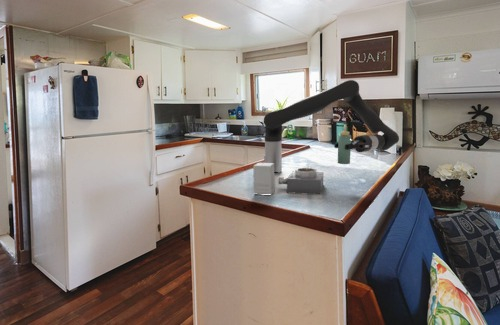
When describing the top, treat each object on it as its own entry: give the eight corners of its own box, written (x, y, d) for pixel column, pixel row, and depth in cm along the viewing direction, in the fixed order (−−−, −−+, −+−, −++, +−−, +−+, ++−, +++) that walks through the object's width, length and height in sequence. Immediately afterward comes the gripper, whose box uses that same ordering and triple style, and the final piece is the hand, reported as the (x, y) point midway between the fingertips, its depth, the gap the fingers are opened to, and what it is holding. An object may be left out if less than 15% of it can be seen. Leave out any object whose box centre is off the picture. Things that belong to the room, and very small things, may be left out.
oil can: (337, 163, 134) (338, 125, 131) (337, 161, 139) (339, 124, 136) (349, 164, 132) (351, 125, 129) (349, 162, 137) (351, 124, 134)
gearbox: (275, 191, 133) (275, 172, 132) (282, 183, 148) (282, 165, 147) (320, 194, 128) (320, 174, 126) (323, 185, 143) (323, 166, 141)
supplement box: (275, 191, 134) (275, 162, 132) (270, 196, 127) (270, 166, 125) (258, 190, 136) (258, 162, 134) (253, 195, 130) (252, 165, 127)
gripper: (353, 133, 147) (327, 136, 138) (380, 136, 135) (354, 139, 126) (352, 149, 148) (327, 152, 139) (379, 153, 137) (353, 157, 128)
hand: (340, 146), depth 133 cm, fingers closed on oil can, 5 cm apart
